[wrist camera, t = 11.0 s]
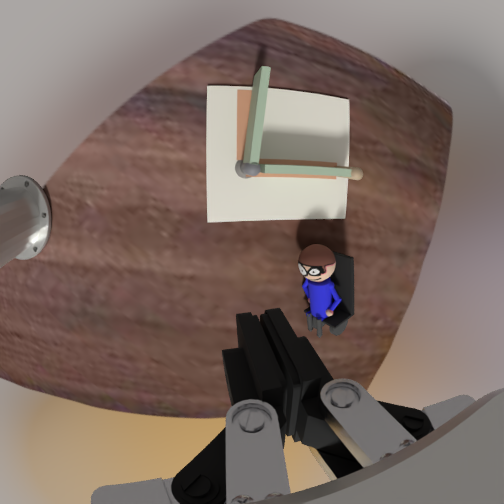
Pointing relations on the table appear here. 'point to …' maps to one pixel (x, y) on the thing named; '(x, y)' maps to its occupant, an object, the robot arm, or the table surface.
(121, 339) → the table surface
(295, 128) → the card
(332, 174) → the fixed fence panel
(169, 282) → the table surface
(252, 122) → the hinged fence panel
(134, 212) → the table surface
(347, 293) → the character figurine
